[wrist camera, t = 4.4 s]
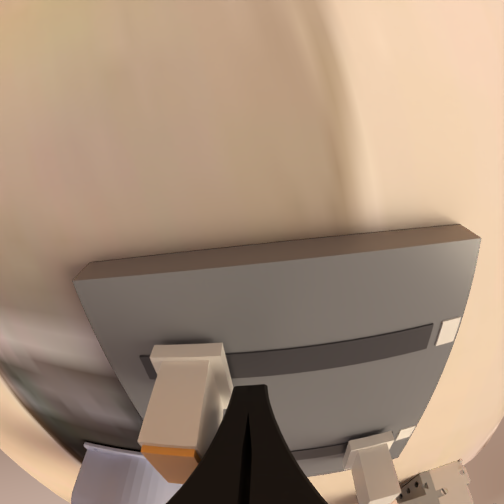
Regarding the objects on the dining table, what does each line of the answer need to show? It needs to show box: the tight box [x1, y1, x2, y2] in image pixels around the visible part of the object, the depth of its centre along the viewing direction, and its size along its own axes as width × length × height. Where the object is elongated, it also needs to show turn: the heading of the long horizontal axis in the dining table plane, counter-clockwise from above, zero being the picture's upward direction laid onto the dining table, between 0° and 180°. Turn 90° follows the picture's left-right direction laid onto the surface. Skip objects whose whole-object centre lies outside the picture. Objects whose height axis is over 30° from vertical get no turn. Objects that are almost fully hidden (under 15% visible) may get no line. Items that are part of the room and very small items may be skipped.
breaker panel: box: [73, 224, 481, 477], centre depth 16 cm, size 18×20×2 cm
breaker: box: [342, 431, 401, 504], centre depth 14 cm, size 3×4×5 cm
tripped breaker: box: [137, 343, 233, 484], centre depth 10 cm, size 3×4×5 cm
